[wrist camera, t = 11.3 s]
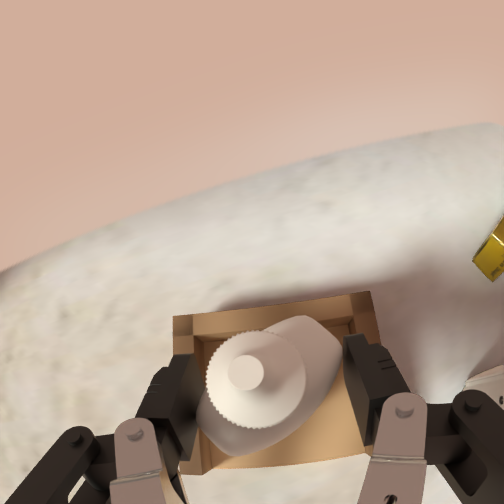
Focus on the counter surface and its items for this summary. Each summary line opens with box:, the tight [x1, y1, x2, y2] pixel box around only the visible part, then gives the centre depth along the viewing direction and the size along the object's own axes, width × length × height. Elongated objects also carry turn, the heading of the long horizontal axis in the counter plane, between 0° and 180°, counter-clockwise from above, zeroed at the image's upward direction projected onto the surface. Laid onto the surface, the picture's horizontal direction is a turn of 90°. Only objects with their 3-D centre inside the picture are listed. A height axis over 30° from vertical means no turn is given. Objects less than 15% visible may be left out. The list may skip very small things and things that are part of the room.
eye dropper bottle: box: [196, 315, 343, 456], centre depth 11 cm, size 4×6×12 cm
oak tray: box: [173, 291, 381, 475], centre depth 16 cm, size 11×9×3 cm
